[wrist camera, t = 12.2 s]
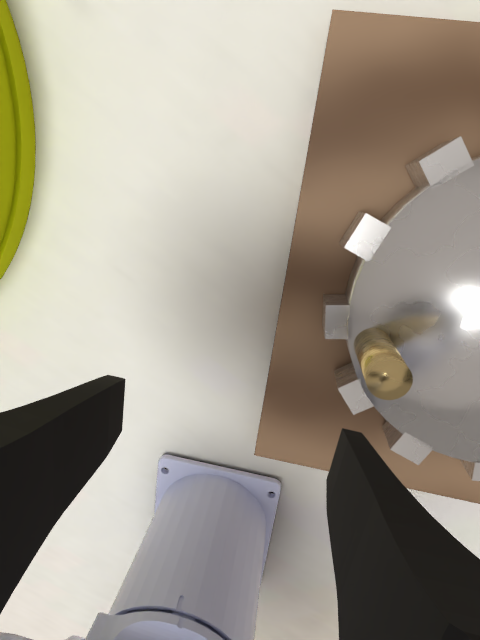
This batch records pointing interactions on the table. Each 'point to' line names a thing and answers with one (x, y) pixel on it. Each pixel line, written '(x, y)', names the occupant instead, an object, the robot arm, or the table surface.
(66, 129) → the table surface
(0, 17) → the pulley
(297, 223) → the base board
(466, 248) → the wheel
